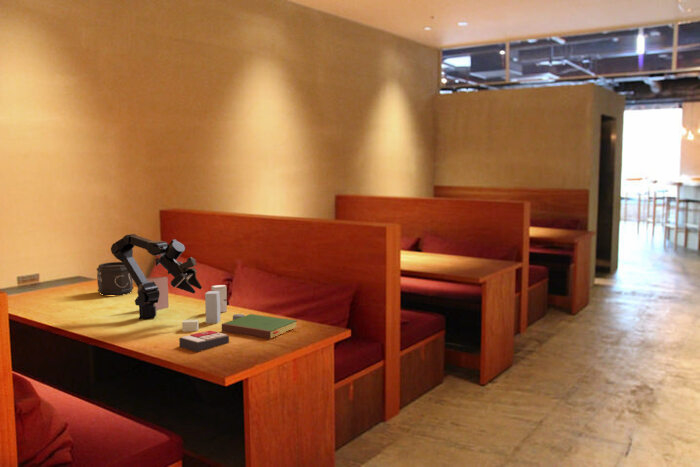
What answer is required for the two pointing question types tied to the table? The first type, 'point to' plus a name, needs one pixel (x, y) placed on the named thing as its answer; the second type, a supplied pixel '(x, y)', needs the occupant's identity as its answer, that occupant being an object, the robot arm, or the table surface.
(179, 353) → the table surface
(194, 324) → the cream block
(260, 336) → the hardcover book
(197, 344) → the calculator
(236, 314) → the grey rounded dome
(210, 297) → the light grey block
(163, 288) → the greeting card
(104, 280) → the dark decorated pot
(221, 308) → the skincare box
